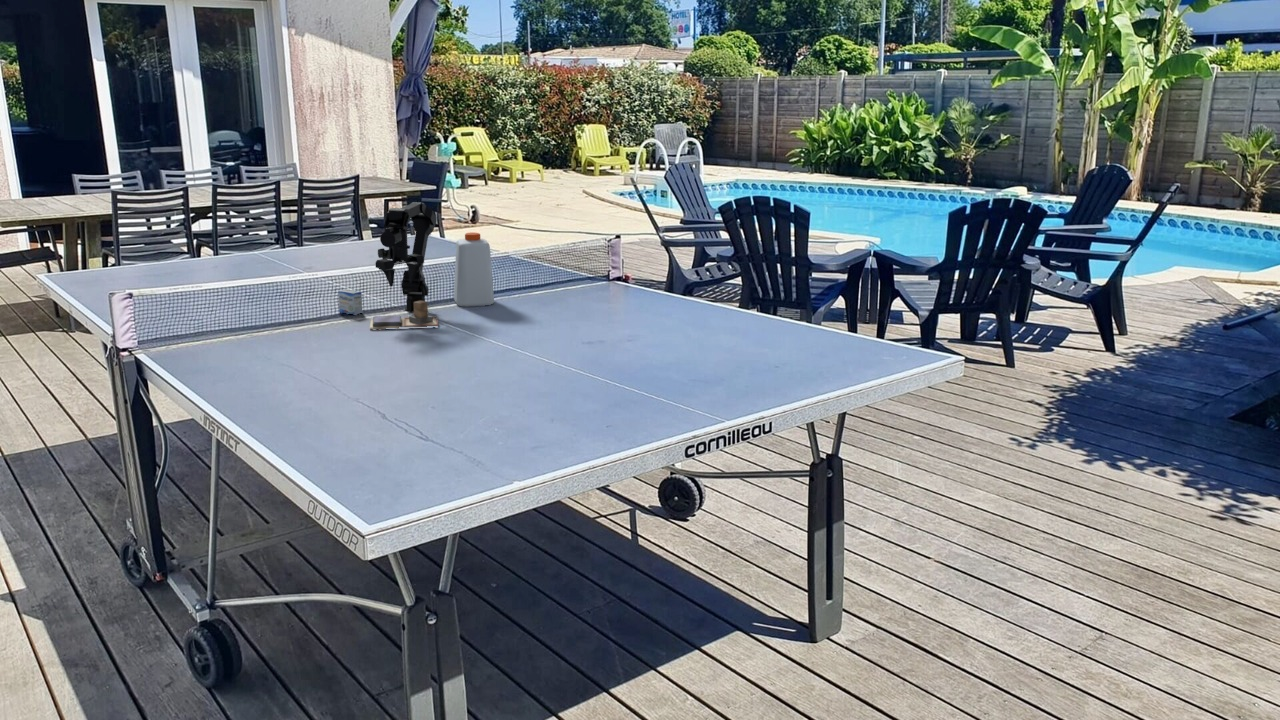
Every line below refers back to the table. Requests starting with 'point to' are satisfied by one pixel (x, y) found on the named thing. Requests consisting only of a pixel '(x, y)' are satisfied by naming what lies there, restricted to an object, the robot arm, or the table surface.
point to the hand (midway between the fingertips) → (401, 284)
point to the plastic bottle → (473, 272)
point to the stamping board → (396, 322)
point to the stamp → (420, 313)
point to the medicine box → (350, 301)
